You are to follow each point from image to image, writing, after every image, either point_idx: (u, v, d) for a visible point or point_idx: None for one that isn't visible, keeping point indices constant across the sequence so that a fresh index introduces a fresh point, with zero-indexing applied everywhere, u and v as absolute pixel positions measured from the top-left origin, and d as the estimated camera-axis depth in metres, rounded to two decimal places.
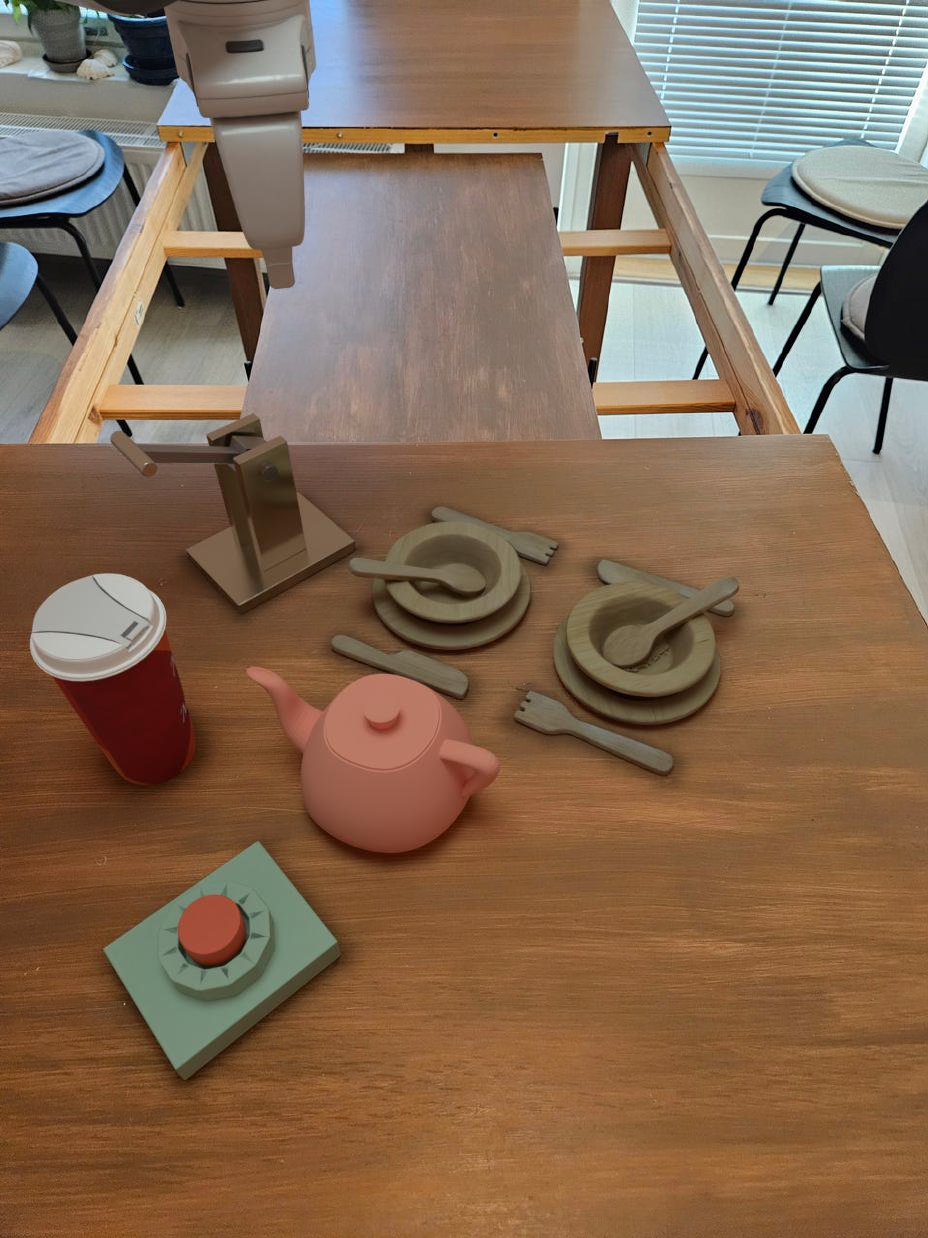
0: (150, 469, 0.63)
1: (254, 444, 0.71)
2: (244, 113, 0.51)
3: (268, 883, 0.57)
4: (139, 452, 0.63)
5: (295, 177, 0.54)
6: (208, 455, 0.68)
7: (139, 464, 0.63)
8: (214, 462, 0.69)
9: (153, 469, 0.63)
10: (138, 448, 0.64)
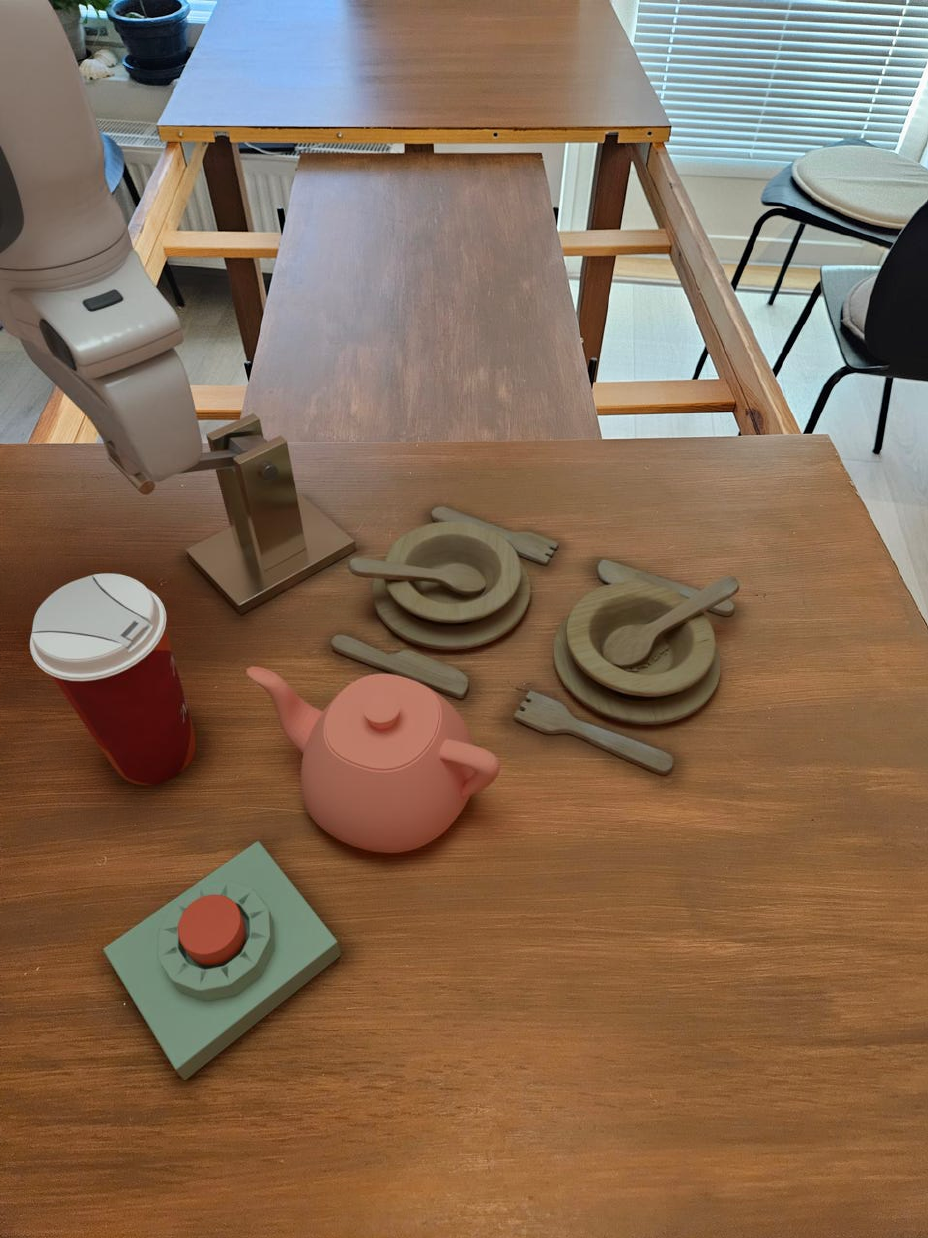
0: (147, 486, 0.64)
1: (252, 444, 0.71)
2: (129, 365, 0.51)
3: (268, 883, 0.57)
4: None
5: (189, 407, 0.54)
6: (207, 462, 0.68)
7: (137, 483, 0.64)
8: (214, 468, 0.69)
9: (150, 486, 0.64)
10: None
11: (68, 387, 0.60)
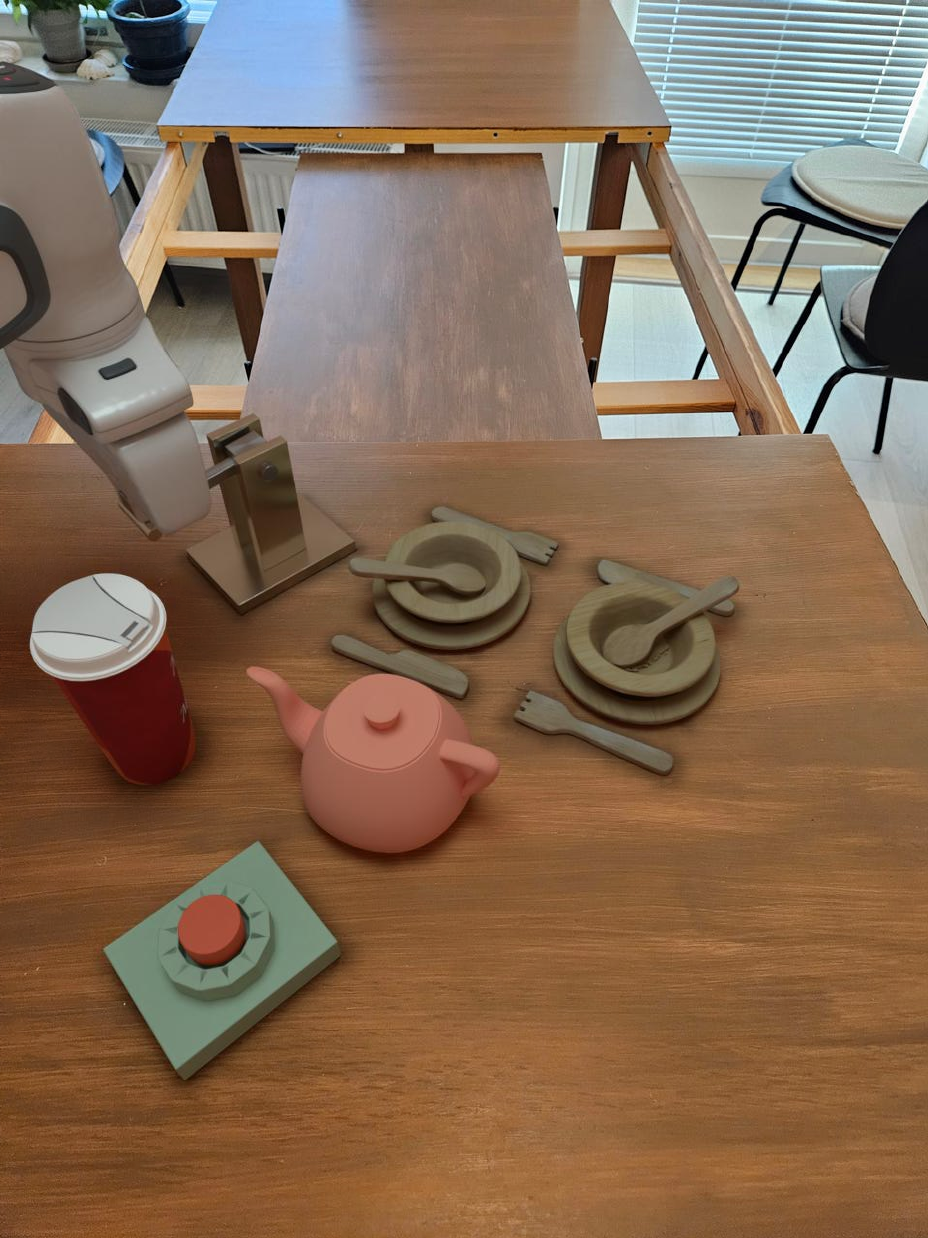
0: (155, 534, 0.67)
1: (247, 447, 0.70)
2: (142, 430, 0.54)
3: (268, 883, 0.57)
4: None
5: (198, 466, 0.57)
6: (208, 482, 0.70)
7: (145, 534, 0.67)
8: (217, 483, 0.70)
9: (158, 532, 0.67)
10: None
11: (83, 441, 0.63)
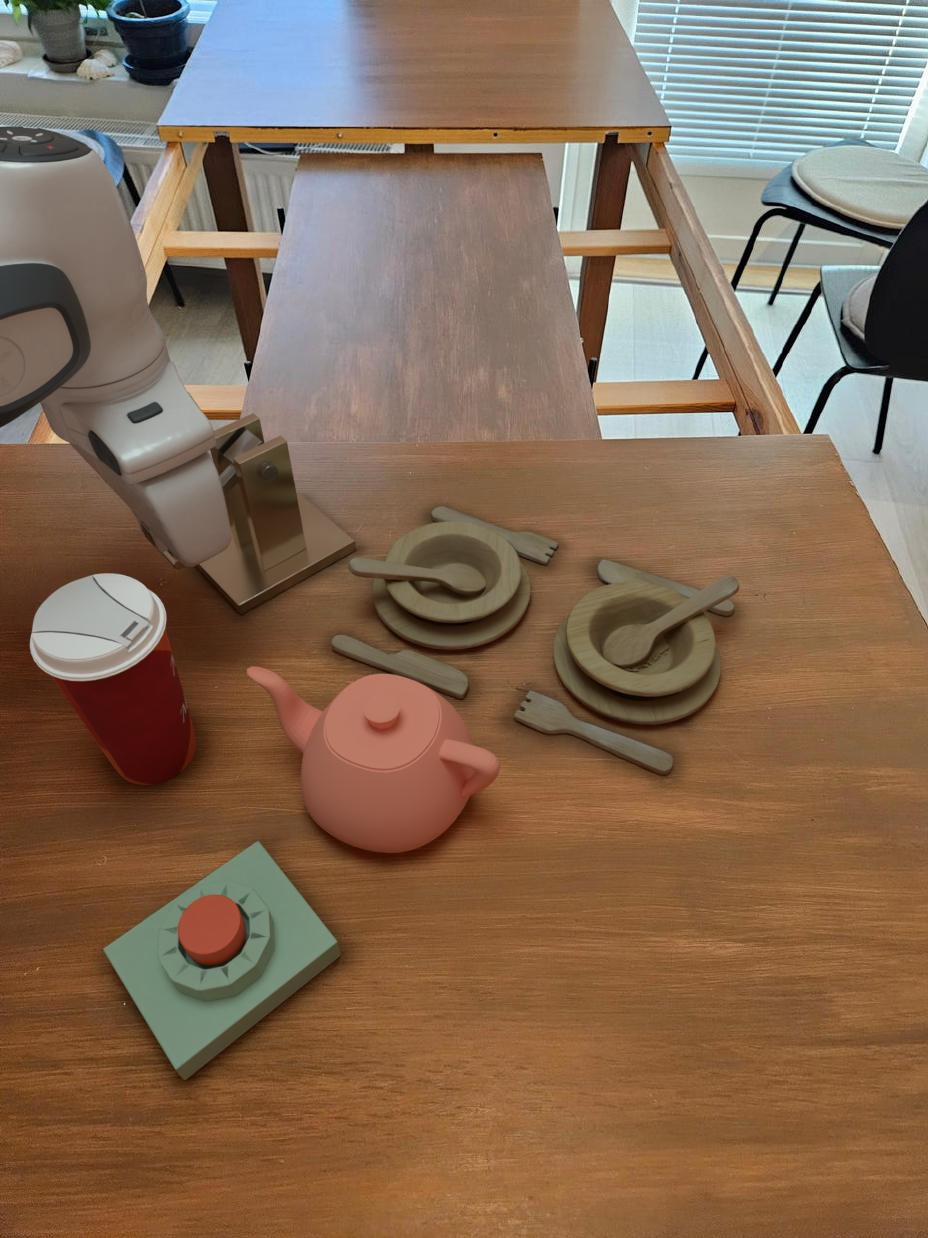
0: (180, 563, 0.70)
1: (243, 451, 0.70)
2: (168, 470, 0.57)
3: (268, 883, 0.57)
4: (165, 552, 0.70)
5: (220, 503, 0.60)
6: None
7: (172, 565, 0.70)
8: (226, 493, 0.72)
9: None
10: None
11: (107, 476, 0.66)
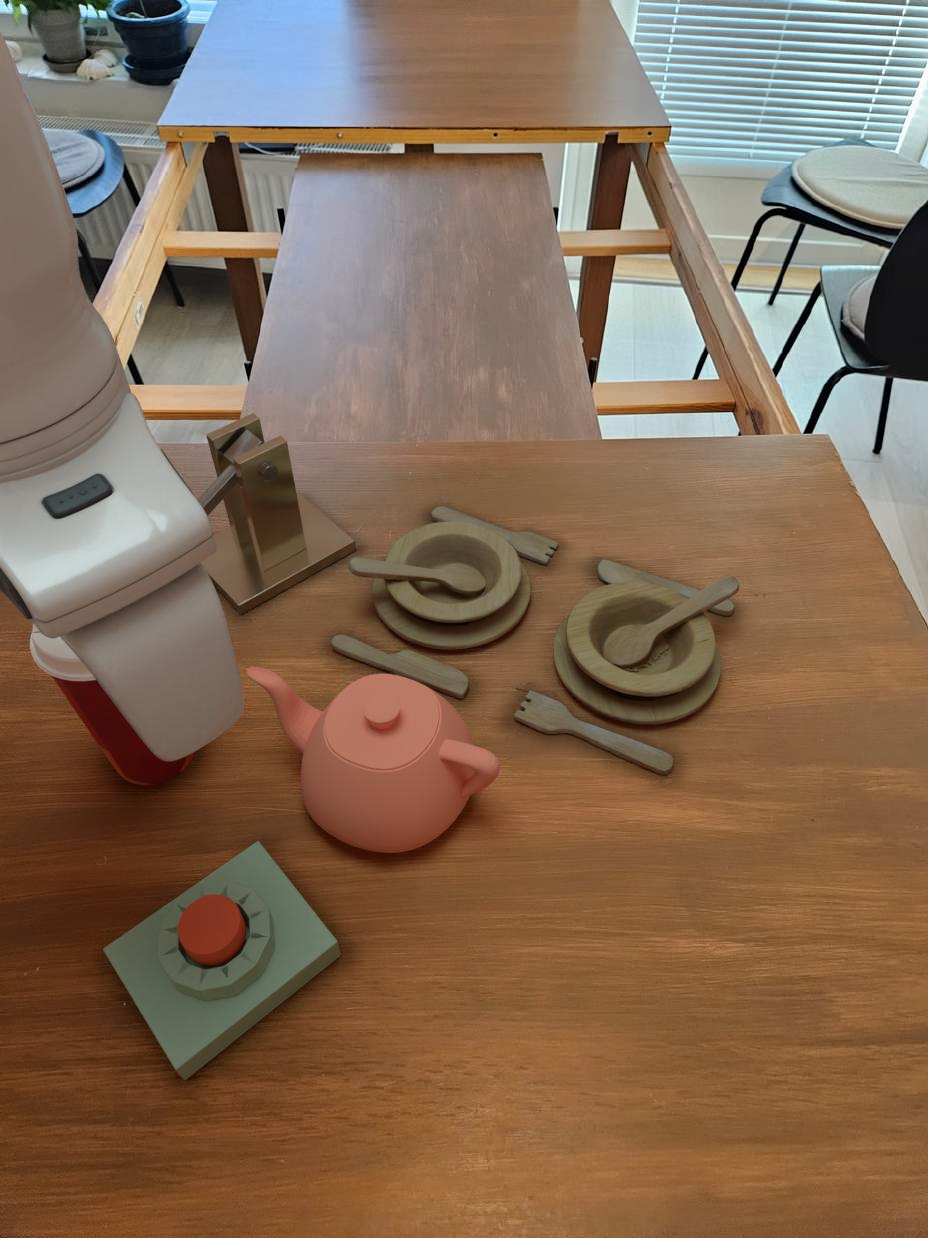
0: None
1: (243, 451, 0.70)
2: (124, 606, 0.29)
3: (268, 883, 0.57)
4: None
5: (225, 653, 0.32)
6: (216, 496, 0.71)
7: None
8: (226, 493, 0.72)
9: None
10: None
11: None
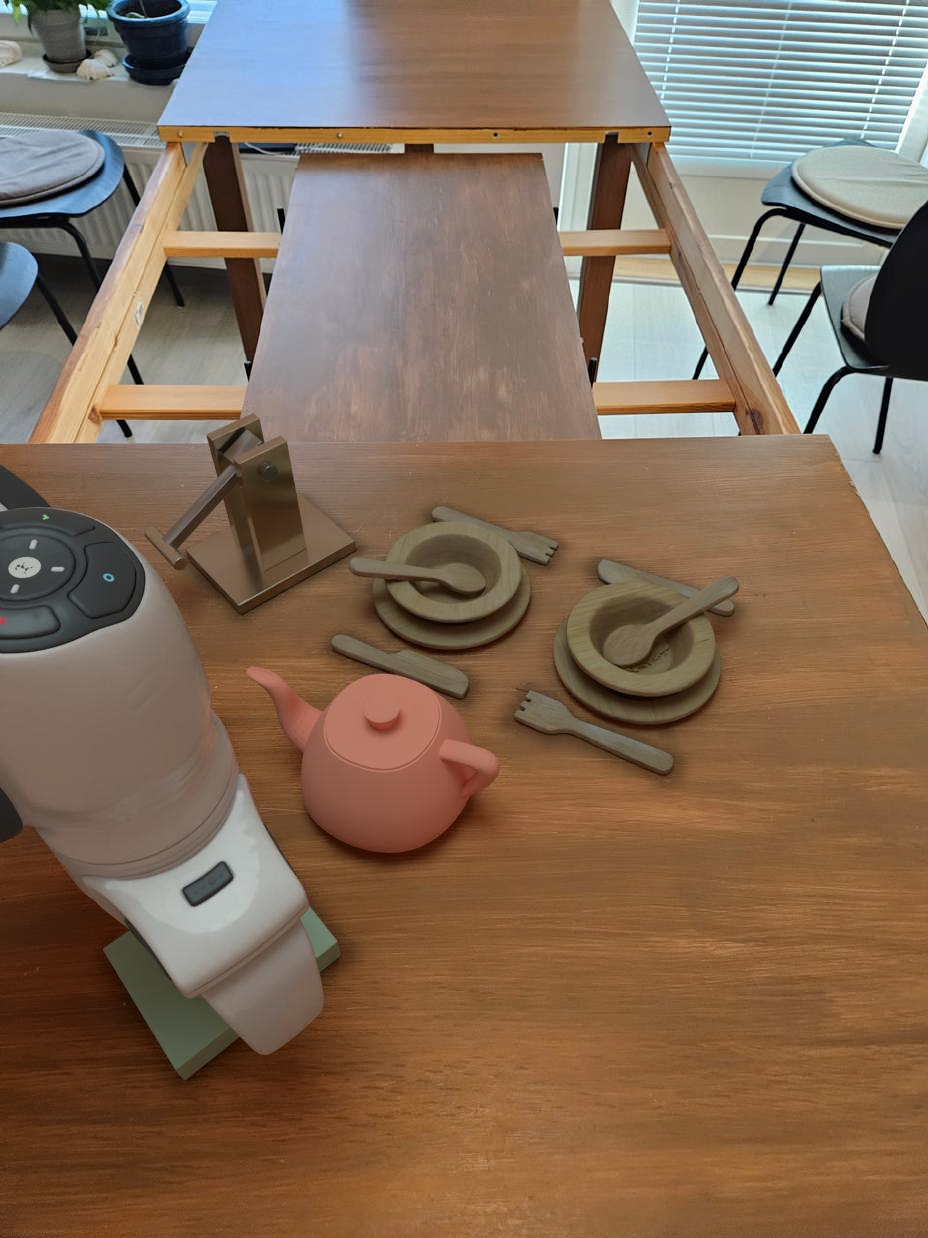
0: (180, 564, 0.70)
1: (243, 451, 0.70)
2: (242, 967, 0.38)
3: None
4: (165, 552, 0.70)
5: (312, 978, 0.41)
6: (216, 496, 0.71)
7: None
8: (226, 493, 0.72)
9: (183, 561, 0.70)
10: (164, 546, 0.71)
11: None
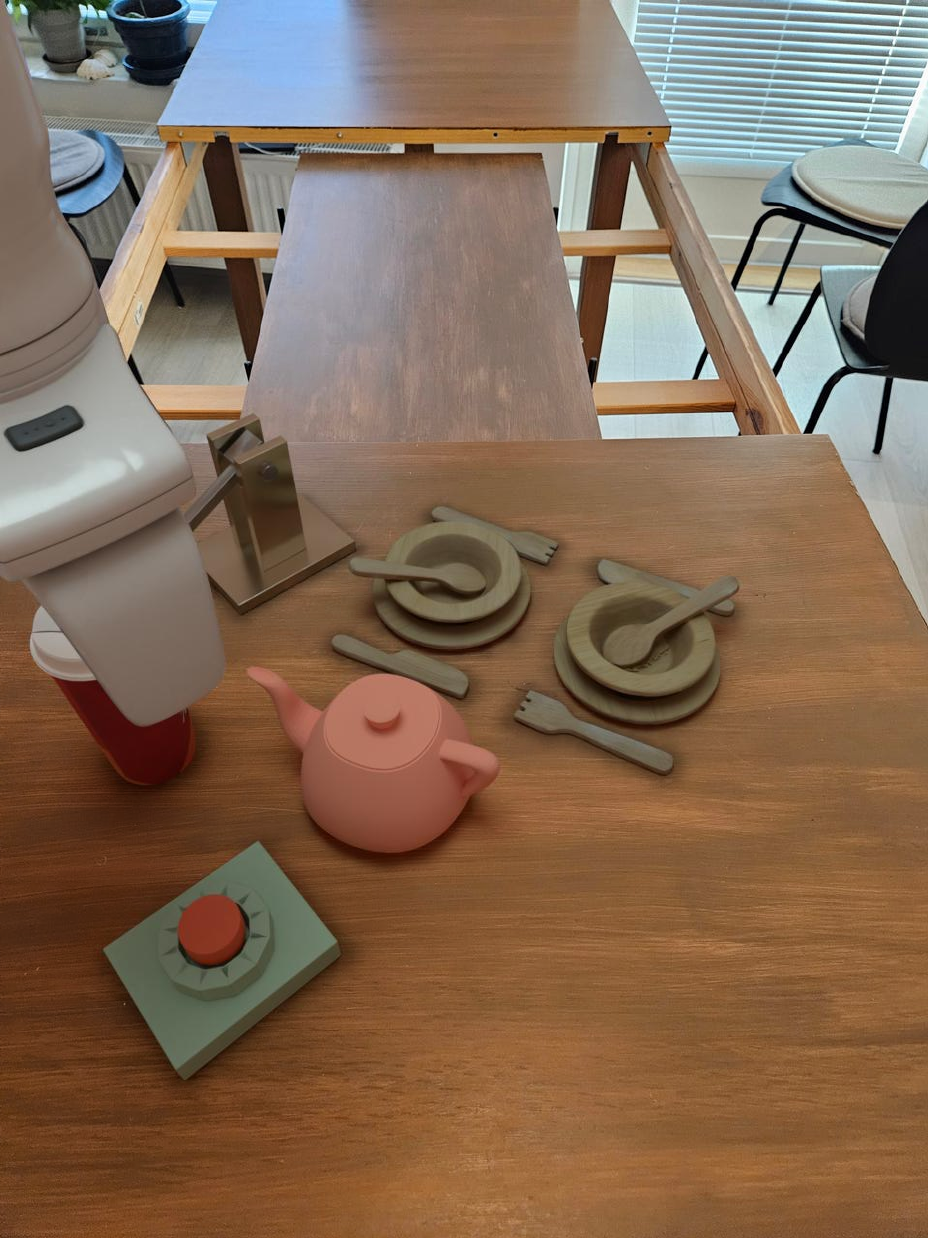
0: None
1: (243, 451, 0.70)
2: (93, 550, 0.27)
3: (268, 883, 0.57)
4: None
5: (204, 609, 0.30)
6: (216, 496, 0.71)
7: None
8: (226, 493, 0.72)
9: None
10: None
11: None
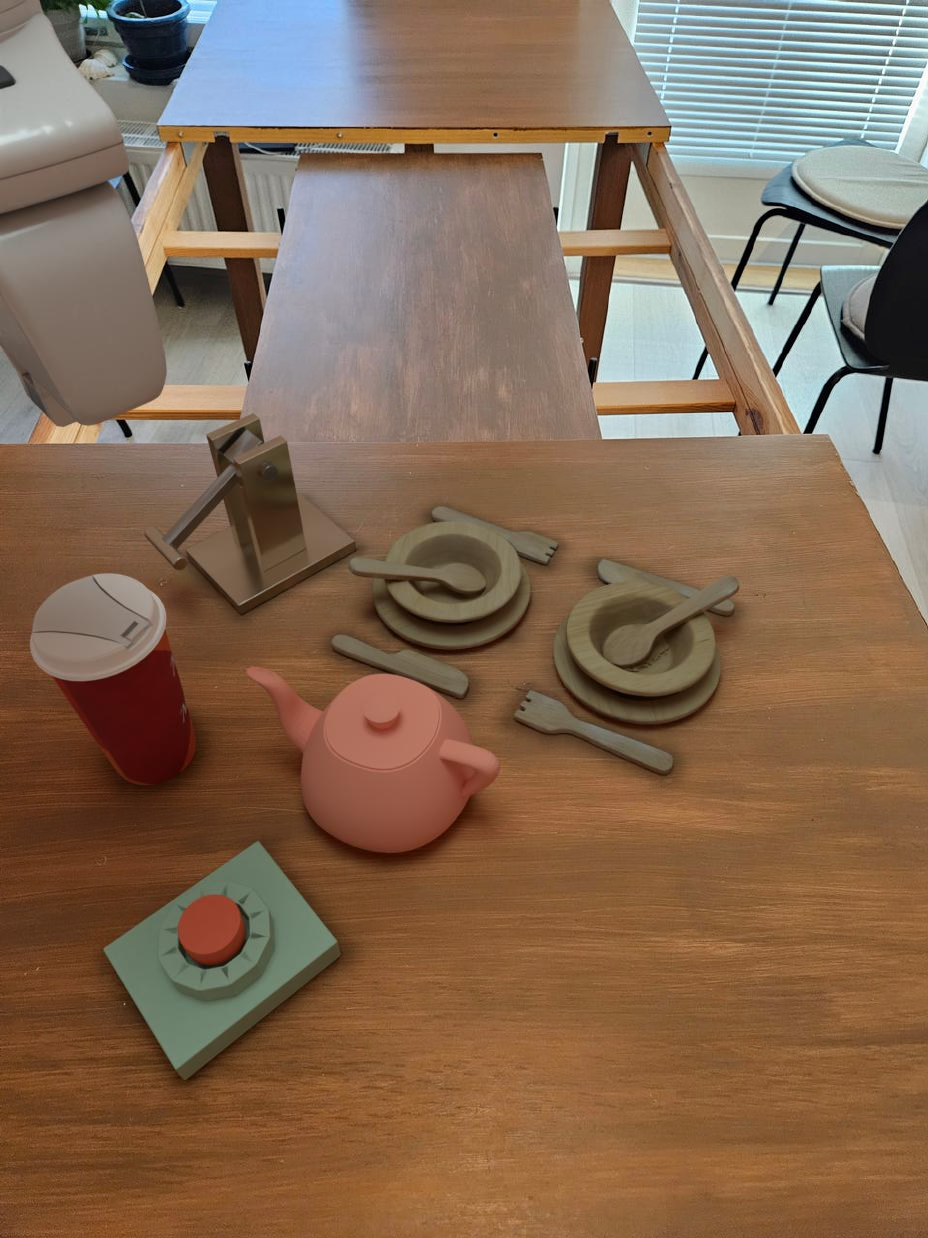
0: (180, 564, 0.70)
1: (243, 451, 0.70)
2: (25, 202, 0.28)
3: (268, 883, 0.57)
4: (165, 552, 0.70)
5: (140, 291, 0.31)
6: (216, 496, 0.71)
7: None
8: (226, 493, 0.72)
9: (183, 561, 0.70)
10: (164, 546, 0.71)
11: None
